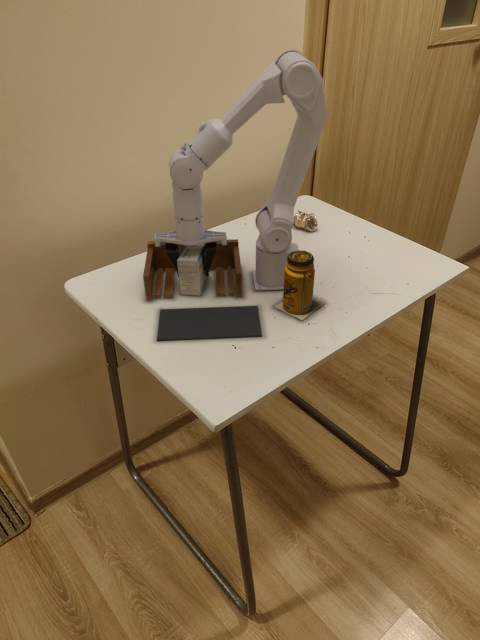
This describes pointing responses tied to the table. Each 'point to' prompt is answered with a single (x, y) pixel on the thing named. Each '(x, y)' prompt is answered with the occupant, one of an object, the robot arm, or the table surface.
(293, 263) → the condiment
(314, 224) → the ornament
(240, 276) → the shelf rack
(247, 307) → the rubber mat
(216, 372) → the table surface
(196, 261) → the medicine box
